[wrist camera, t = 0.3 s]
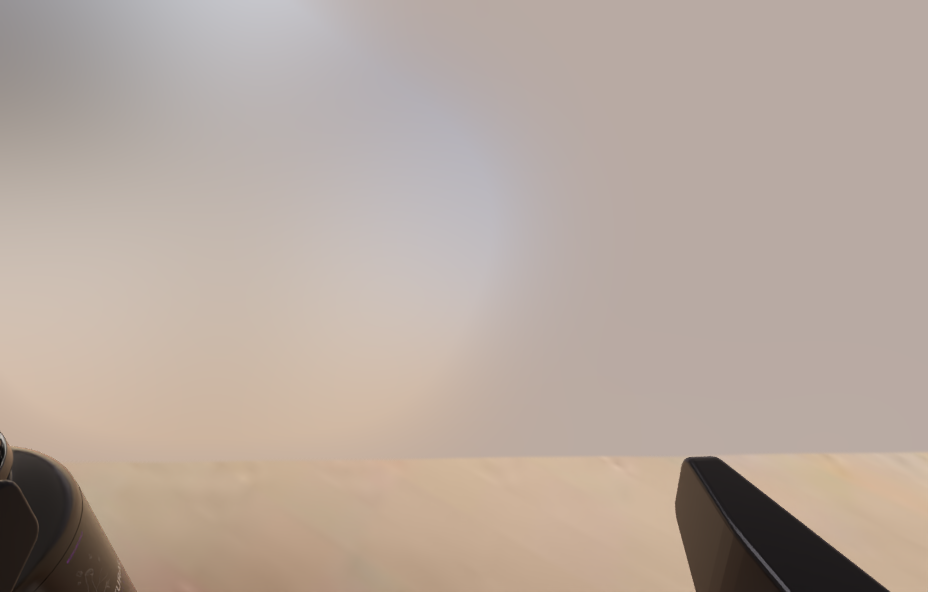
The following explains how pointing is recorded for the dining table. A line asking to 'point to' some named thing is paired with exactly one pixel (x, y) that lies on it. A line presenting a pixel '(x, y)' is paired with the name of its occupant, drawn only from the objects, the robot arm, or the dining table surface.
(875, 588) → the robot arm
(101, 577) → the supplement bottle
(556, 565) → the dining table surface
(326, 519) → the dining table surface
